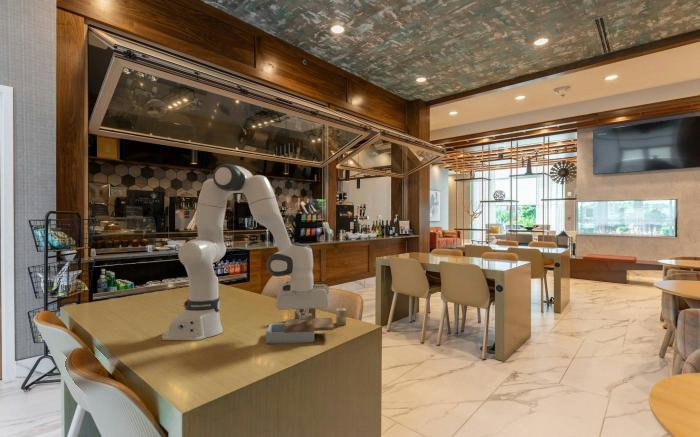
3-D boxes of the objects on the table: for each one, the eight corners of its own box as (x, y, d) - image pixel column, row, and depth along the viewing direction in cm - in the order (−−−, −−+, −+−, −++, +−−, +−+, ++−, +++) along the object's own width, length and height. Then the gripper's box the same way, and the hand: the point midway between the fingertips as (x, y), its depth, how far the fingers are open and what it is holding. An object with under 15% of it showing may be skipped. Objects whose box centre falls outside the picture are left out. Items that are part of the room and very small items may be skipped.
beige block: (337, 325, 149) (336, 310, 150) (336, 322, 153) (336, 308, 154) (346, 325, 150) (346, 310, 150) (345, 322, 154) (345, 308, 154)
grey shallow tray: (265, 344, 127) (265, 333, 127) (269, 333, 139) (269, 323, 139) (314, 341, 129) (314, 331, 130) (314, 331, 141) (314, 322, 141)
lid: (284, 332, 128) (283, 321, 128) (286, 322, 140) (286, 312, 140) (333, 330, 130) (333, 319, 130) (331, 320, 143) (331, 310, 143)
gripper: (328, 282, 139) (328, 316, 139) (277, 284, 137) (277, 318, 137) (329, 285, 133) (329, 320, 133) (275, 287, 131) (276, 323, 131)
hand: (302, 319), depth 135 cm, fingers closed
